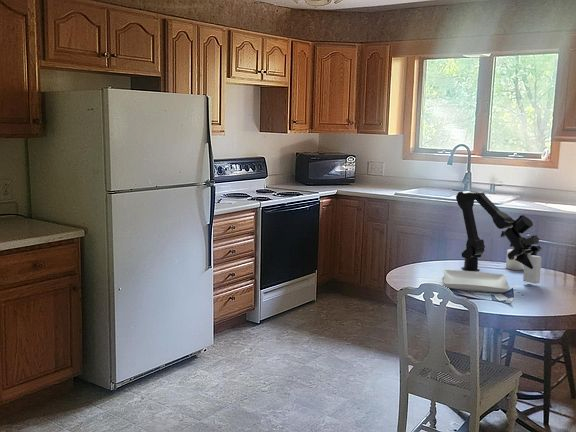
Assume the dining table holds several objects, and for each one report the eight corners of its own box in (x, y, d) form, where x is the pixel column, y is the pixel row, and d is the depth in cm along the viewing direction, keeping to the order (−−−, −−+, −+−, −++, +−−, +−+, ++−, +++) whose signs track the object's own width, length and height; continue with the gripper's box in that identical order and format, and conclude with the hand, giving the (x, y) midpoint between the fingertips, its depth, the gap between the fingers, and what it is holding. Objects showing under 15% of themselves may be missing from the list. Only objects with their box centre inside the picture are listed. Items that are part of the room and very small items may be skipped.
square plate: (504, 281, 274) (504, 273, 274) (509, 297, 248) (510, 288, 248) (443, 276, 281) (444, 268, 281) (442, 290, 255) (443, 281, 255)
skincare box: (540, 283, 266) (542, 256, 265) (534, 284, 264) (537, 257, 262) (527, 280, 271) (530, 254, 270) (521, 281, 268) (524, 254, 267)
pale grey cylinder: (502, 266, 303) (503, 249, 302) (515, 266, 306) (516, 248, 305) (513, 270, 296) (514, 252, 295) (526, 269, 299) (527, 252, 297)
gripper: (515, 230, 262) (536, 260, 255) (539, 227, 273) (560, 256, 265) (498, 244, 269) (518, 274, 262) (522, 241, 280) (542, 269, 273)
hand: (535, 267), depth 265 cm, fingers closed on skincare box, 4 cm apart
